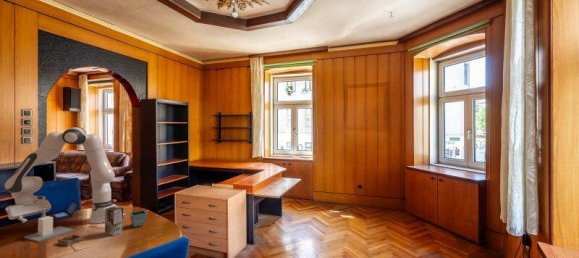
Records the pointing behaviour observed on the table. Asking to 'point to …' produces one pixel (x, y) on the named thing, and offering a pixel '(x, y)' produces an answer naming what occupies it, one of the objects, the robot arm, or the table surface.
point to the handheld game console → (66, 212)
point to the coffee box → (114, 220)
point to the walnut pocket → (75, 240)
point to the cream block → (45, 226)
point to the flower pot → (138, 218)
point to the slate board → (56, 232)
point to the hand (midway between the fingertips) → (35, 219)
